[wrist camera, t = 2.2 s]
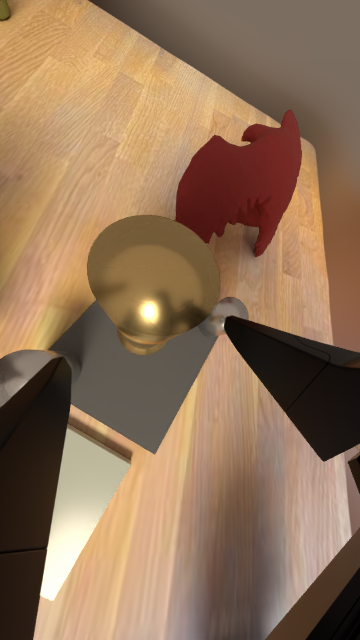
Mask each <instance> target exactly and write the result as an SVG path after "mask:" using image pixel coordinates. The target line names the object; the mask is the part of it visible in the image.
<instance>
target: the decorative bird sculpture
mask: <svg viewBox="0 0 360 640" xmlns="http://www.w3.org/2000/svg"><path fill="white" fill-rule="evenodd" d="M241 141H248V142H251V144H249V145H246V146H242V147H239V146H236V145H233V144H230V143H228V142H227V141H225V140H224V139H223V138H222V137H221V136H217V135H214V136H213V137H212V138H211V139H210V140H209V141H208V142H207V143H206V144H205V145H204V146H203V147H202V148H201V149H200V150H199V151H198V152H197V153H196V154H195V155H194V156H193V158H192V160H191V162H190V164H189V166H188V168H187V169H186V171H185V173H184V174H183V176H182V178H181V180H180V182H179V186H178V191H177V196H176V219H175V221H176V222H178V223H180V224H182V225H184V226H186V227H187V228H189V229H190V230H192V231H193V232H194V233H195V234H197V235H198V236H199V237H200V238H201V239H202V240H203V241H204V242H205V243H209V241H210V238H211V236H212V234H213V232H215V233H216V234H217V236H218V237H221V236H222V235H223V234H224V229H225V226H226V224H227V222H229V223H230V224H232V225H235V224H236V222H239V223H242V224H244V225H247V226H252V227H259V235H258V239H257V242H256V244H255V245H254V246H255V247H256V248H255V252H256V254H255V257H257V256H259V255H261V254H263V252H264V251H265V249H266V248H267V246H268V245H269V243H270V242H271V240H272V238H273V236H274V235H275V231H276V229H277V227H278V224H279V222H280V220H281V218H282V216H283V213H284V212H285V211H286V209H287V207H288V205H289V203H290V201H291V199H292V195H293V192H294V190H295V187H296V183H297V177H298V176H299V171H300V166H301V158H302V150H301V141H300V134H299V128H298V123H297V121H296V118H295V116H294V114H293V112H292V110H288V111H287V112H286V113H285V115H284V117H283V120H282V124H281V127H280V128H272V127H268V126H265V125H261V124H254V125H251V126H249V127H248V128H247V129H246V130H245V131H244V134H243V136H242V139H241Z"/></svg>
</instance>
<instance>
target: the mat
mask: <svg viewBox="0 0 360 640" xmlns="http://www.w3.org/2000/svg"><path fill="white" fill-rule="evenodd" d="M217 338H218V336H215V337H208V336H206V335H204V334H203V333H202V332H201V331H200V329H199V327H198V326H196V327H195V328H193V329H191V330H189V331H187V332H185V333H183V334H181V335H178V336H176V337H174V338H172V339H170V340H168V341H167V342H166V344H165V345H164V346H163V347H162V348H161V349H160V350H159V351H157V352H155V353H153V354H149V355H137V354H134V353H131V352H130V351H128V350H127V349H125V348H124V346H123V345H122V344H121V342H120V340H119V338H118V334H117V327H116V326H115V324H114V323H113V322H112V320H111V319H110V318H109V316H108V315H107V314H106V312H105V311H104V310H103V308H102V307H101V306H100V304H99V303H98V302H97V300H96V301H95V302H94V303H93V304H92V305H91V306H90V307H89V308H88V309H87V310H86V311H85V312H84V313H83V314H82V316H81V317H80V318H79V319H78V320H77V321H76V322H75V323H74V324H73V325H72V326H71V327H70V328H69V329H68V330H67V331H66V332H65V333H64V334H63V335H62V336H61V337H60V338H59V339H58V340H57V341H56V342H55V343H54V345H53V346H52V347H51V348H50V349H49V350H48V351H67V352H71V353H73V354H75V355H76V356H77V357H78V358H79V360H80V362H81V366H82V369H81V374H80V376H79V378H78V379H77V381H76V382H75V383H74V384H73V385H71V404H72V405H73V406H75V407H77V408H78V409H80V410H82V411H83V412H85V413H87V414H88V415H90V416H92V417H93V418H95V419H97V420H98V421H100V422H102V423H103V424H105V425H107V426H108V427H110V428H112V429H113V430H115V431H117V432H118V433H120V434H122V435H123V436H125V437H127V438H128V439H130V440H132V441H133V442H135V443H136V444H138V445H140V446H141V447H143V448H145V449H146V450H148V451H150V452H151V453H153V454H155V453H156V452H157V450H158V448H159V446H160V444H161V442H162V440H163V439H164V437H165V435H166V433H167V431H168V429H169V427H170V425H171V424H172V422H173V420H174V418H175V416H176V414H177V412H178V411H179V409H180V407H181V405H182V403H183V401H184V399H185V398H186V396H187V394H188V392H189V390H190V388H191V386H192V385H193V383H194V381H195V379H196V377H197V375H198V373H199V371H200V370H201V368H202V366H203V364H204V362H205V360H206V358H207V357H208V355H209V353H210V351H211V349H212V347H213V345H214V344H215V342H216V340H217Z"/></svg>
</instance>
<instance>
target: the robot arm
mask: <svg viewBox="0 0 360 640" xmlns="http://www.w3.org/2000/svg"><path fill="white" fill-rule="evenodd" d="M224 330H225V332H226V334H227V335H228V337H229V338H230V340H231V342H232V343H233V345H234V346H235V348H236V349H237V351H238V352H239V353H240V355H241V356H242V357H243V359H244V360H245V361H246V362H247V364H248V365H249V366H250V368H251V369H252V370H253V372H254V373H255V374H256V375H257V377H258V378H259V379H260V381H261V382H262V383H263V385H264V386H265V387H266V388H267V390H268V391H269V392H270V394H271V395H272V396H273V398H274V399H275V400H276V401H277V403H278V404H279V405H280V407H281V408H282V409H283V411H284V412H285V413H286V415H287V416H288V417H289V418H290V420H291V421H292V422H293V424H294V425H295V426H296V428H297V429H298V430H299V431H300V433H301V434H302V435H303V437H304V438H305V439H306V441H307V442H308V443H309V444H310V446H311V447H312V448H313V450H314V451H315V452H316V454H317V455H318V456H319V457H320V459H321V460H322V461H323V462H325V461H327V460H329V459H331V458H333V457H335V456H337V455H339V454H341V453H343V452H345V451H346V450H348V449H351V448H353V447H355V448H356V449H357V450H358V451H359V452H358V453H357V454H356V455H355V456H354V457H352V458H351V459H350V460H349V461H348V464H349V467H350V469H351V472H352V475H353V477H354V480H355V483H356V485H357V488H358V491H359V493H360V353H359V352H354V351H350V350H346V349H343V348H339V347H335V346H331V345H328V344H324V343H320V342H317V341H313V340H310V339H306V338H303V337H300V336H297V335H293V334H290V333H287V332H284V331H281V330H278V329H274V328H271V327H268V326H265V325H262V324H259V323H255V322H252V321H249V320H246V319H243V318H239V317H236V316H233V315H231V316H227V317H226V318H225V323H224ZM71 385H72V369H71V367H70V365H69V364H68V362H67V361H66V359H65V358H64V357H62V356H61V357H57V358H53V359H51V360H50V361H49V362H48V363H47V364H46V365H45V366H44V367H43V368H41V369H40V370H39V371H38V372H37V373H36V374H35V375H34V376H33V377H32V378H31V379H30V380H29V381H28V382H27V383H26V384H25V385H24V386H23V387H21V388H20V389H19V390H18V391H17V392H16V393H15V394H14V395H13V396H12V397H11V398H10V399H9V400H8V401H7V402H6V403H5V404H4V405H3V406H2V407H0V640H33V637H34V631H35V625H36V618H37V612H38V606H39V600H40V594H41V587H42V581H43V575H44V569H45V562H46V556H47V550H48V549H46V548H47V547H48V543H49V536H50V530H51V524H52V518H53V512H54V505H55V499H56V493H57V487H58V481H59V474H60V468H61V462H62V456H63V449H64V443H65V437H66V431H67V425H68V418H69V412H70V405H71ZM265 640H360V528H359V529H358V530H357V532H356V533H355V534H354V535H353V536H352V537H351V538H350V540H349V541H348V542H347V543H346V544H345V546H344V547H343V548H342V549H341V550H340V551H339V553H338V554H337V555H336V556H335V557H334V559H333V560H332V561H331V562H330V563H329V564H328V566H327V567H326V568H325V569H324V570H323V572H322V573H321V574H320V575H319V576H318V577H317V579H316V580H315V581H314V582H313V583H312V585H311V586H310V587H309V588H308V589H307V590H306V592H305V593H304V594H303V595H302V596H301V598H300V599H299V600H298V601H297V602H296V604H295V605H294V606H293V607H292V608H291V609H290V611H289V612H288V613H287V614H286V615H285V617H284V618H283V619H282V620H281V621H280V622H279V624H278V625H277V626H276V627H275V628H274V630H273V631H272V632H271V633H270V634H269V635H268V637H267V638H266V639H265Z"/></svg>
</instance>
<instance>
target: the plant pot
mask: <svg viewBox="0 0 360 640" xmlns="http://www.w3.org/2000/svg"><path fill="white" fill-rule="evenodd" d="M9 15H10V9H9V6H8V3H7V0H0V19H1V20H4V19H6V18H7V17H8V16H9Z"/></svg>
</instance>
